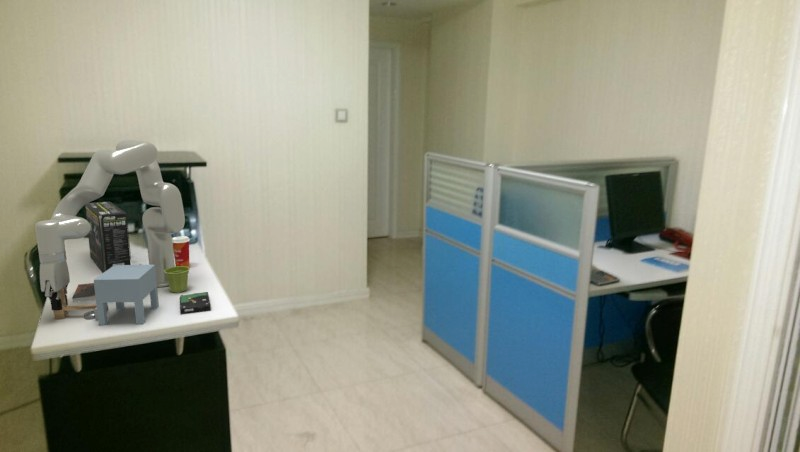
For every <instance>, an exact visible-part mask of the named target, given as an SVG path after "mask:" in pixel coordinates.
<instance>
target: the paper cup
mask: <svg viewBox="0 0 800 452" xmlns="http://www.w3.org/2000/svg"><path fill="white" fill-rule="evenodd" d="M172 240H173V253H174V265H175V267H177V266H185V267H189V268H190V241H191V240H190V237H188V236H186V235H180V236H175V237H172Z"/></svg>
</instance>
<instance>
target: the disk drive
mask: <svg viewBox="0 0 800 452" xmlns="http://www.w3.org/2000/svg"><path fill="white" fill-rule="evenodd" d="M211 311H212V309H211V301H210V296H209V292H208V291H204V292H198V293H197V292H196V293H191V294H181V295H179V312H180V315H187V314H188V315H189V314H195V313H201V312H202V313H203V312H204V313H205V312H211Z"/></svg>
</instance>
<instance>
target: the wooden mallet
mask: <svg viewBox="0 0 800 452" xmlns="http://www.w3.org/2000/svg"><path fill="white" fill-rule="evenodd" d="M52 290H54V289H52ZM52 294H55V295H56V293H52ZM59 297H60V298H59V299H61V302H62V310H52V311H53V317H54V319H55V320H58V319H59V320H60V319H65V318H66V317H67V316H69V311H80V310H81V311H82V310H84V311H85V310H94V314H95V319H94V320H98V313H97V305H96V303H95V304H79V305H67V304H66V299H65V293H64V288H62V289H60V290H59ZM106 311H107V312H108V311H109V304H108V303H106Z"/></svg>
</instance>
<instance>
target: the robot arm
mask: <svg viewBox="0 0 800 452" xmlns="http://www.w3.org/2000/svg"><path fill="white" fill-rule="evenodd" d="M158 155H159V153H158V148H157V147H156V146H155V144H153V143H152V142H149V141H142V140H141V141H140V140H132V139H131V140H130V139H127V140H126V139H125V140H121V141H119V142H118V143H117V144H116V145H115V149H108V148H107V149H99V150H97V151H95V152H94V153H93V154H92V157H91V159H90V160H89V162H88V164H87V165H86V168H85V171H84V172H83V174H82V176H81V177H80V178H81V179H80V180H79V182H78V183H77V184H76V186H75V187H73V188H72V189H71V190H70V191H69V192H68V193H66V195H65V196H64V197H63V198H62V199H61V200H60V201H59V202H58V203H57V205H56V207H55V209H54V211H53V213H52V216H51V217H50V219H44V220H40V221H37V222H36V223H35V226H34V228H35V230H34V231H35V235H36V242H37V249H38V250H37V251H38V257H39V283H40V290H41V292H42V293H45V294H44V297H47V298H48V299H49V301H50V308H51V311H53V310H62V302H61V299H59V298H60V297H59V290H60V289H62V288H64V293H65V299H66V304H67V306H69V303H68V285H69V284H70V282H71V278H70V271H69V266H68V262H67V252H66V245H65V240H66V241H67V240H77V239H83V238H85V237H86V236H88V233H89V232H90V229H91V226H90V224H89V222H88V221H87V219H85V218H83V217H80V216H77V214H78V213H79V212H80V210H81V209H83V207H85V205H86V204H87V203H92V202H93V201H95V200H98V199H101V197H103V196H104V195H105V192H106V190H107V189H108V186H109V185H110V182H111V181H112V179H113V177H114V175H125V174H129V173H132V172H134V171H135V173H136V176H137V180H138V185H139V186H138V187H139V190H140V195H141V199H142V201H143V202H144V203H145V204H147V205H149V206H150V205H151V206H153V207H149V208H148V209H146V210H145V211H144V212H143V214H142V226H143V230H144V233H145V238H146V245H147V257H148V265H155V269H156V280H157V288H163V287H164V288H165V287H169V283H168V279H167V276H166V273H164V270H166V269H168V268H171V267H176V265H175V259H174V252H173V240H172V238H173V237H172V234H174V235H175V234H178V233H181V231H182V230H183V229H184V226H185V223H186V217H185V216H186V215H185V211H184V204H183V199H182V193H181V192H180V190H179V188H178V187H177V186H176V185H174V184H172V183H170V182H164V181H163V177H162V172H161V168H160V165H159V163H158V162H157V159H158ZM154 206H155V207H154ZM53 289H54V290H53ZM52 293H56V295H55V294H52Z"/></svg>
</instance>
